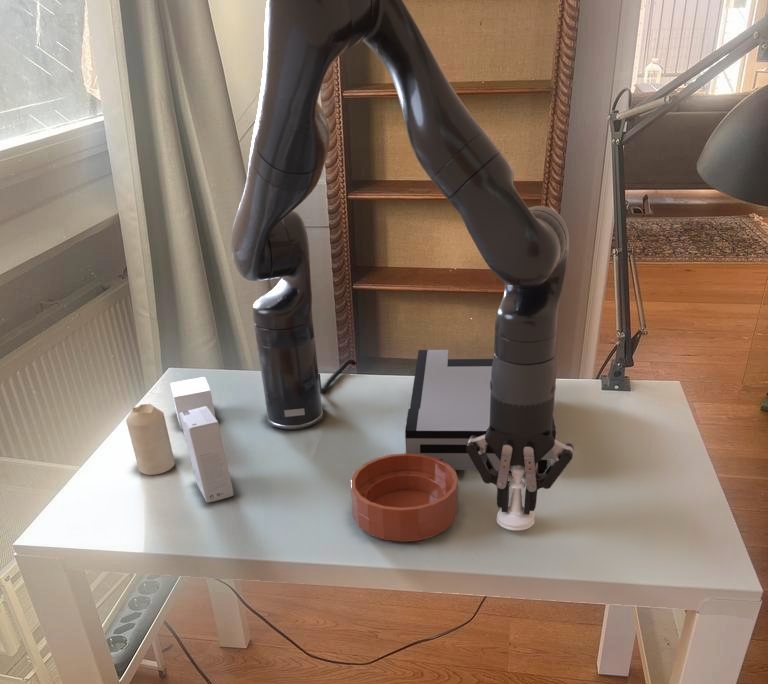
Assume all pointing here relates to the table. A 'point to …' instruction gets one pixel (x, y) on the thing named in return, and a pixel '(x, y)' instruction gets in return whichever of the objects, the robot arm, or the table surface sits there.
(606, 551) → the table surface
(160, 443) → the candle
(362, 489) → the bowl
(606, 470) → the table surface
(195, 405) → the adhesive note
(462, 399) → the game console
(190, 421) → the cosmetic box
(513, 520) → the chess piece
